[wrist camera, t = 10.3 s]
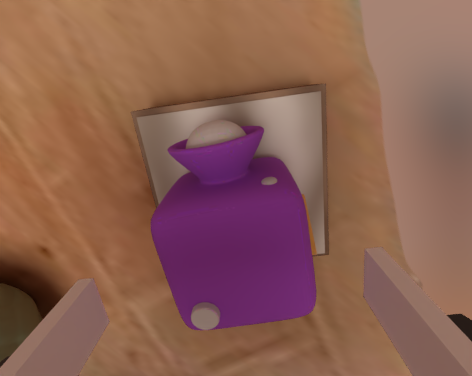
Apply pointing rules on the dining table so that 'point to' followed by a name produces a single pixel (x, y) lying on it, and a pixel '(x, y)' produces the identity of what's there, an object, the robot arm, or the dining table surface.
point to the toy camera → (234, 233)
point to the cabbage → (15, 318)
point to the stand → (271, 145)
